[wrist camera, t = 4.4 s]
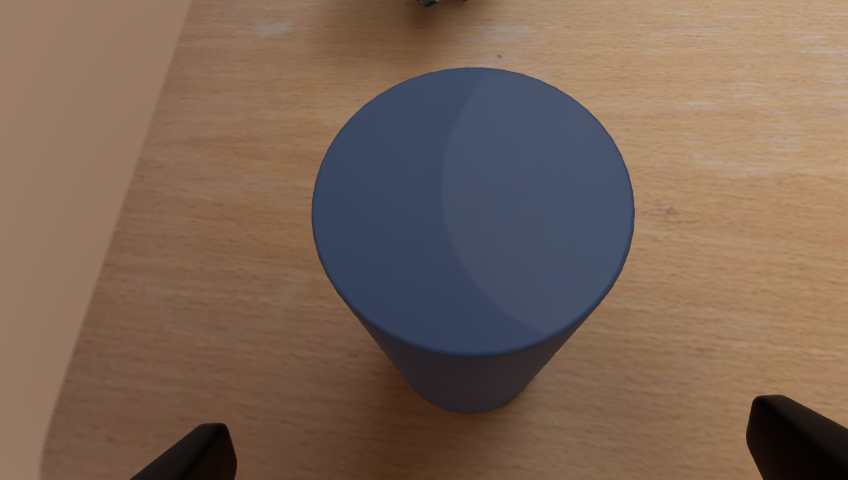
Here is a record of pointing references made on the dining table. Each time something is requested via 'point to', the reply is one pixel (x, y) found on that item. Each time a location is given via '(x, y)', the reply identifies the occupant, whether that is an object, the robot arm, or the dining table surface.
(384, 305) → the blue cylinder
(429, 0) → the passion flower
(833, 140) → the dining table surface
